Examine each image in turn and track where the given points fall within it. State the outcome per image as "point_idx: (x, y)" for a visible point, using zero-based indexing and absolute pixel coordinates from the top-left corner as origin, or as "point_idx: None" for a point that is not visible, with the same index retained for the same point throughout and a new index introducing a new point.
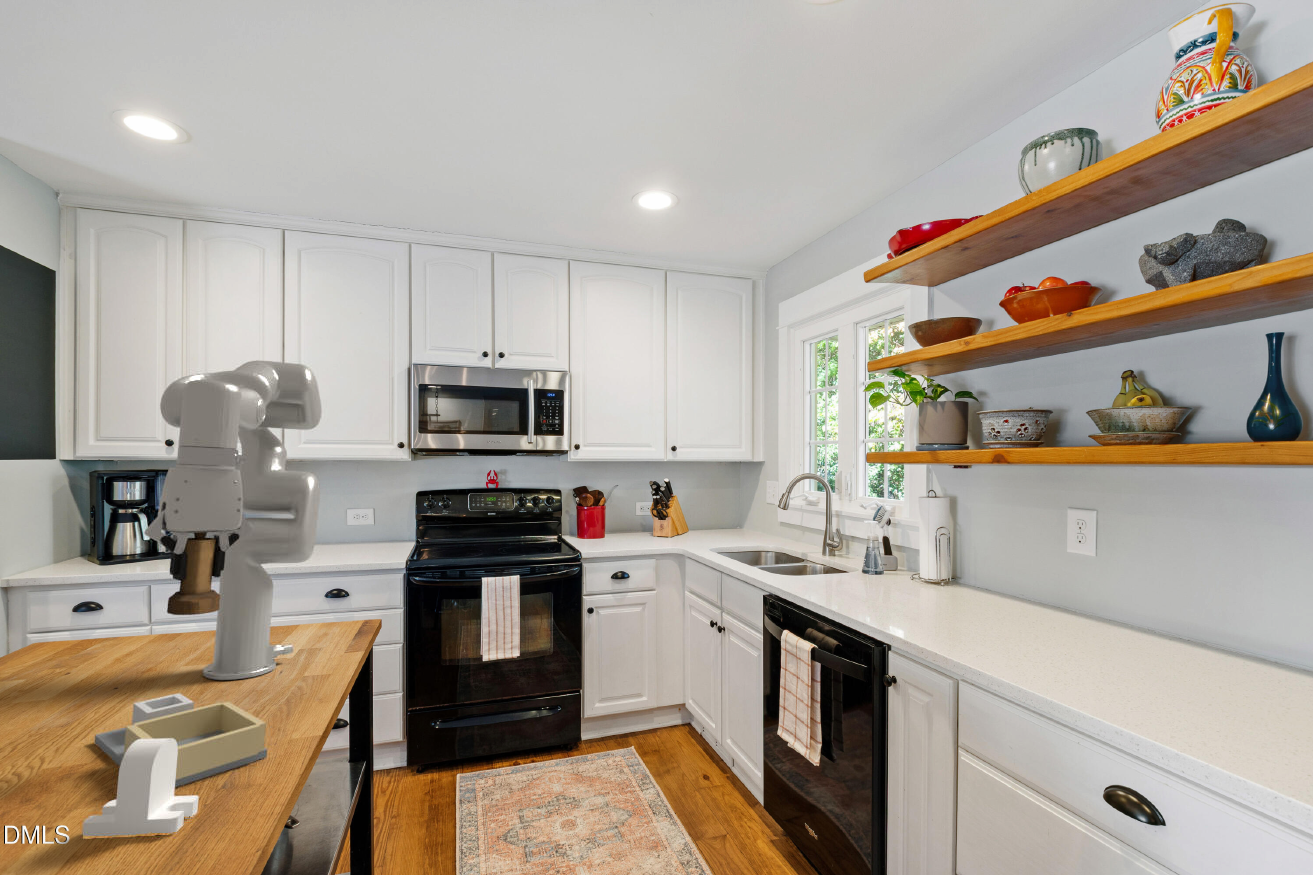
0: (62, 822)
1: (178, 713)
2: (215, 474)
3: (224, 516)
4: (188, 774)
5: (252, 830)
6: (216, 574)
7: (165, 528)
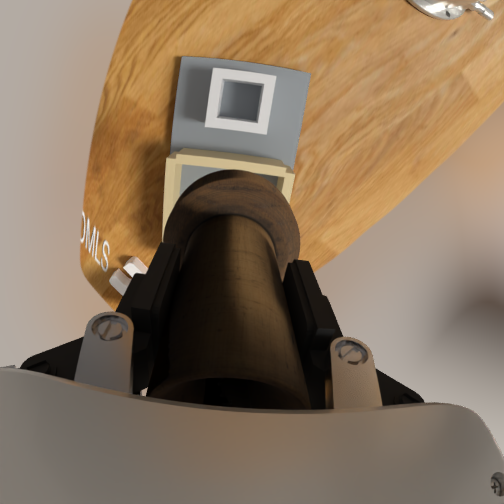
0: (107, 237)
1: (229, 164)
2: None
3: None
4: None
5: None
6: None
7: (12, 379)
